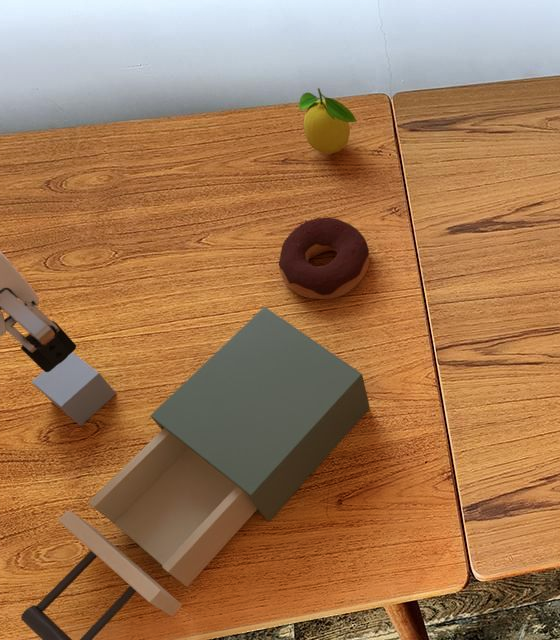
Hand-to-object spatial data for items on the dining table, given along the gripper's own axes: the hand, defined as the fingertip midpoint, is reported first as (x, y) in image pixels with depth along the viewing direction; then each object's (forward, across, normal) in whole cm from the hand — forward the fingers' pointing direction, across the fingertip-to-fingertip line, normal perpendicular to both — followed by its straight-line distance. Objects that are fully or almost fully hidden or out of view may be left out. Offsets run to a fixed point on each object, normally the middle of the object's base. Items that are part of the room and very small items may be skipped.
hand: (24, 329), depth 67 cm
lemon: (+14, -3, +41) cm, 43 cm away
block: (+13, 0, 0) cm, 13 cm away
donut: (+14, +9, +26) cm, 31 cm away
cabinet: (+13, +18, +9) cm, 24 cm away
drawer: (+12, +18, -7) cm, 23 cm away
